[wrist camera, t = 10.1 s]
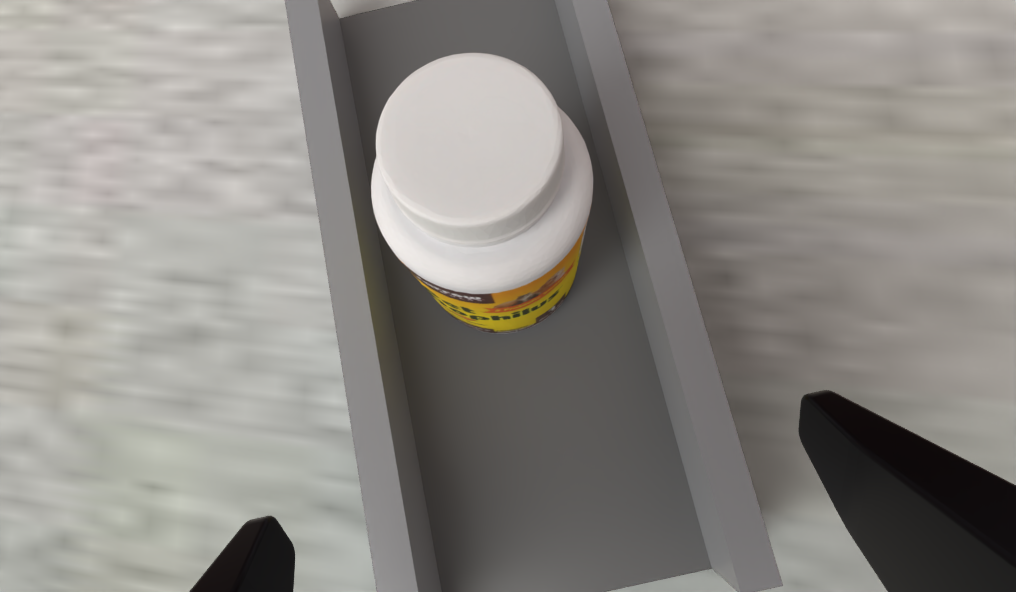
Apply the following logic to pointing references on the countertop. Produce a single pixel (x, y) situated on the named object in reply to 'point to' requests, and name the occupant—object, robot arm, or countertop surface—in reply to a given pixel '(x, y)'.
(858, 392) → the countertop surface
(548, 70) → the cable duct
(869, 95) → the countertop surface
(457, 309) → the supplement bottle
